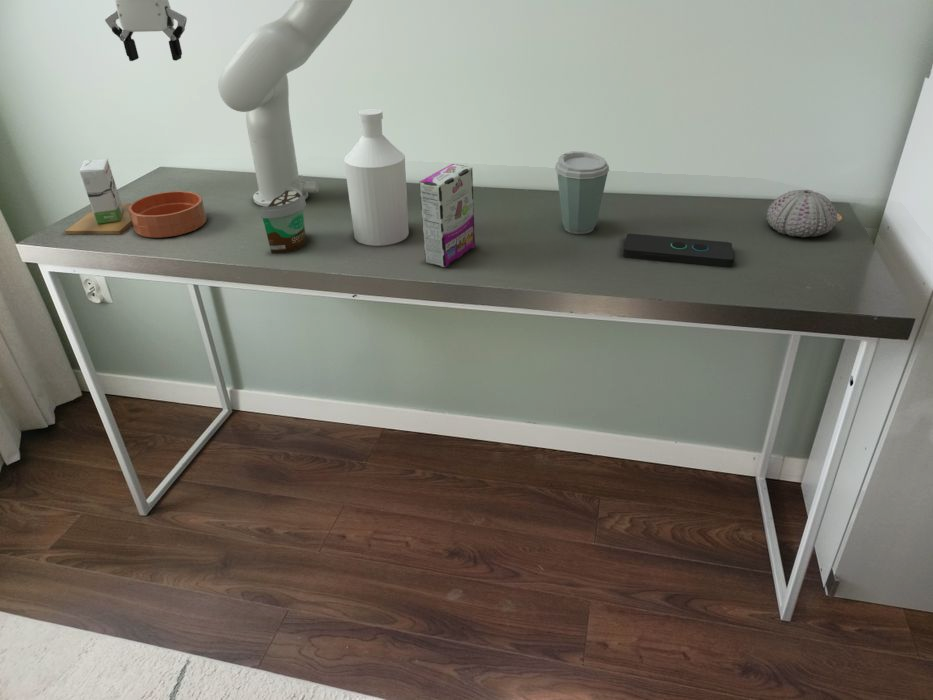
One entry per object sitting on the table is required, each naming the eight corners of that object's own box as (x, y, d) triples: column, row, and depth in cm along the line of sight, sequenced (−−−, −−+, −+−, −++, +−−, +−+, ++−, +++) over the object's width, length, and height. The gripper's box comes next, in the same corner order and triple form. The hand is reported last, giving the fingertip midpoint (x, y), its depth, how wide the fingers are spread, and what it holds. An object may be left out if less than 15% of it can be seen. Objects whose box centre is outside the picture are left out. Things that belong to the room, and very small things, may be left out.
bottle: (379, 251, 139) (366, 123, 125) (341, 235, 145) (325, 113, 132) (421, 233, 146) (414, 110, 132) (383, 219, 153) (373, 100, 139)
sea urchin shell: (760, 236, 141) (768, 198, 137) (767, 212, 151) (775, 176, 147) (832, 246, 136) (843, 207, 132) (834, 222, 146) (844, 185, 142)
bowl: (216, 212, 158) (211, 191, 155) (191, 238, 146) (185, 216, 143) (152, 212, 159) (146, 191, 156) (122, 238, 146) (115, 216, 144)
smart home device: (733, 259, 128) (623, 249, 133) (732, 267, 129) (622, 257, 134) (732, 241, 135) (627, 232, 140) (730, 249, 136) (626, 240, 141)
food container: (297, 258, 137) (289, 209, 131) (268, 256, 138) (258, 208, 132) (320, 233, 147) (313, 187, 141) (293, 231, 148) (285, 185, 142)
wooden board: (152, 206, 162) (151, 203, 161) (120, 234, 148) (119, 230, 148) (102, 206, 163) (101, 203, 162) (66, 234, 149) (64, 230, 149)
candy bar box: (454, 242, 142) (451, 162, 133) (475, 247, 139) (474, 166, 130) (423, 263, 134) (417, 180, 125) (444, 269, 131) (441, 184, 122)
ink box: (120, 221, 152) (104, 168, 146) (96, 225, 151) (78, 171, 145) (123, 208, 159) (108, 156, 153) (100, 211, 158) (83, 159, 151)
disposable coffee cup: (613, 227, 146) (620, 156, 138) (584, 243, 140) (589, 170, 131) (572, 215, 152) (576, 146, 144) (542, 230, 146) (544, 159, 138)
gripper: (182, -32, 146) (200, 56, 155) (102, -30, 147) (125, 56, 156) (167, -29, 140) (187, 62, 149) (84, -27, 141) (109, 63, 150)
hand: (155, 59), depth 153 cm, fingers open, 9 cm apart
